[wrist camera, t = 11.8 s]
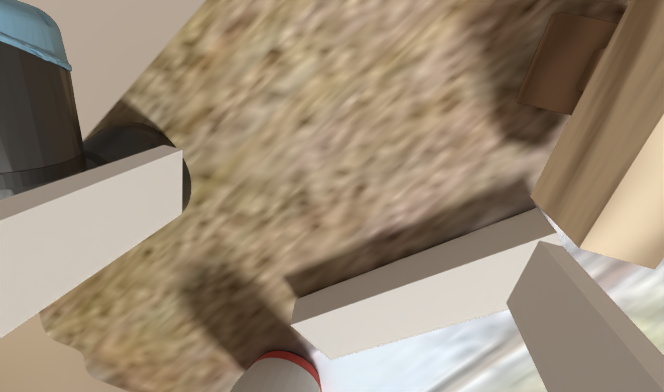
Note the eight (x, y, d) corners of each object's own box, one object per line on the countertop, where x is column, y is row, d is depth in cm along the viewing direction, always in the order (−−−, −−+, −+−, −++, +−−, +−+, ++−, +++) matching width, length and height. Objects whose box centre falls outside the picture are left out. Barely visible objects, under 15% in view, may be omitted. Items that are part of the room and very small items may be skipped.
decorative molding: (556, 259, 41) (535, 204, 36) (577, 289, 37) (556, 232, 32) (332, 331, 53) (296, 296, 49) (330, 359, 49) (290, 325, 45)
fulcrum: (514, 101, 33) (531, 106, 29) (551, 15, 30) (577, 6, 26) (637, 130, 32) (675, 140, 28) (689, 43, 29) (742, 38, 24)
